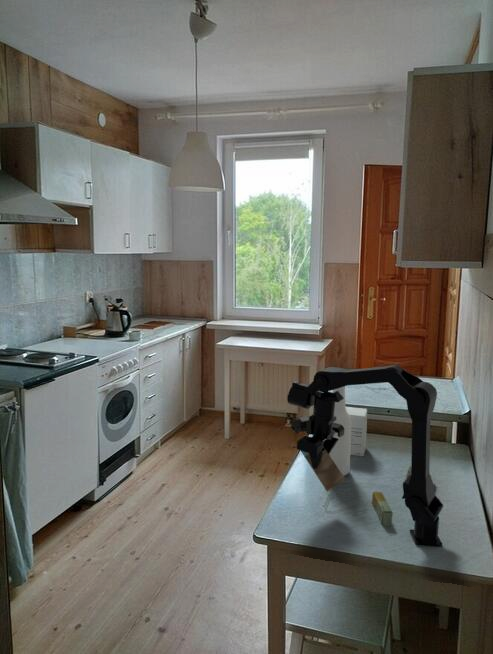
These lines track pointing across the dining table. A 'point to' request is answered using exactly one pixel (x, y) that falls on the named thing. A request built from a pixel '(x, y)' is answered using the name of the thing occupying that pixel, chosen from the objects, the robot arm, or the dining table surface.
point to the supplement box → (358, 430)
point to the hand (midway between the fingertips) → (318, 465)
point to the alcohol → (343, 445)
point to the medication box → (382, 509)
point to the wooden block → (326, 471)
